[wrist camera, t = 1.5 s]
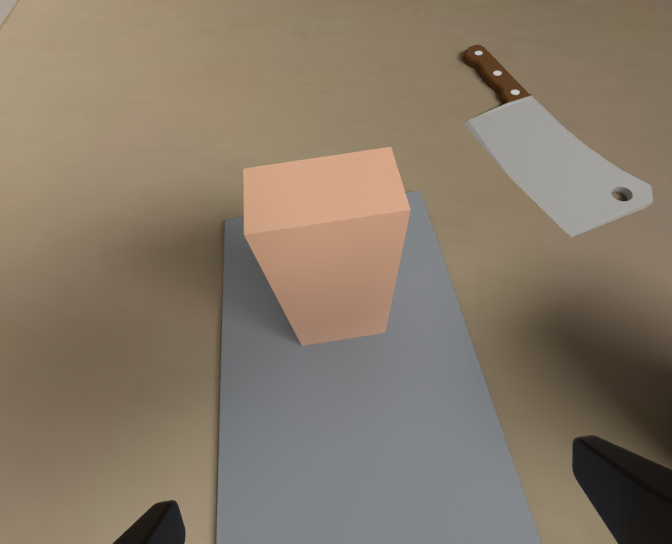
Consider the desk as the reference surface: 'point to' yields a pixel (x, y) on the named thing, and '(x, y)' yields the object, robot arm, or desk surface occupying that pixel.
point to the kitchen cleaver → (550, 156)
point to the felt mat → (360, 419)
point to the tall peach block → (329, 240)
